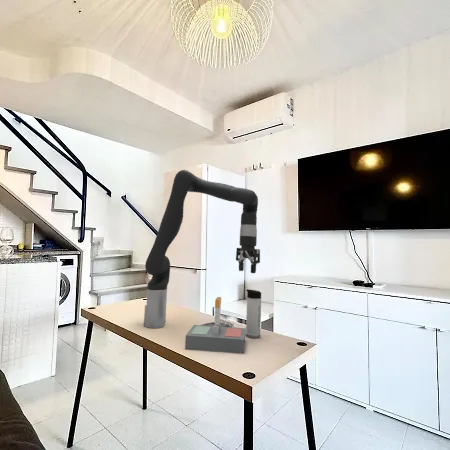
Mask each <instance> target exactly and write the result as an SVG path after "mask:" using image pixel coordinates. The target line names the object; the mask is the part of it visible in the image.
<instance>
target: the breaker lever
mask: <svg viewBox="0 0 450 450" xmlns="http://www.w3.org/2000/svg"><path fill="white" fill-rule="evenodd" d="M221 308H222V297H221V296H217V297H216V298H215V301H214V310H215V311H214V322H215V326H220V319H221Z"/></svg>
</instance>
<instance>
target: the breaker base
mask: <svg viewBox="0 0 450 450" xmlns="http://www.w3.org/2000/svg"><path fill="white" fill-rule="evenodd" d="M221 322H222V321H220V326H205V325H202V324H193V326H192V327H190V329H189V330H188V331H187V333H186V335H185V341H184V342H185V343H184V344H185V345H184V349H185V350H194V351H195V350H196V351H207V352H217V353H219V352H220V353H229V354H230V353H231V354H233V353H234V354H244V353H245V347H246V346H245V345H246V327H235V326H234V327H221Z"/></svg>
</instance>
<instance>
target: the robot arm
mask: <svg viewBox="0 0 450 450" xmlns="http://www.w3.org/2000/svg"><path fill="white" fill-rule="evenodd" d="M188 192H191V193H199V194H204V195H209V196H211V197H214V198H217V199H220V200H223V201H228V202H232V203H233V202H234V203H238V204H240V205H242V213H241V215H240V216H241V217H240V227H239V246H240V247H237V248H236V252H235V261H236V262H237V263H238V271H239V272H243V271H244V268H245V263H244V262H245V260H247V259H248V260H249V261H250V273H251V274H256V273H257V272H256V271H257V264H260V263H261V249H259V248H255V247H256V246H257V242H258V241H257V239H258V238H257V235H258V229H257V228H258V227H257V222H258V221H257V220H258V218H257V213H258V205H259V198H258V195H257V193H256V192H254V190H251V189H248V188H245V187H244V188H243V187H237V186H233V185H230V184H225V183H222V182H216V181H215V182H214V181H210V180H206V179H202V178H200V177H198V176H196V175H195V174H194V173H192V172H190V171H189V170H186V169H181V170H179V171H177V173H176V174H175V176H174V178H173V184H172V186H171V192H170V196H169V198H168V200H167V201H168V202H167V203H166V208H165V210H164V213H163V215H162V218H161V221H160V225H159V228H158V231H157V234H156V236H155V239H154V243H153V245H152V248H151V249H150V251H149V254H148V255H147V258H146V259H145V260H146V261H145V265H144V266H145V271H146V272H147V274H149V275H150V276H151V279H150V280H149V281H148V283H147V289H146V290H147V291H146V304H145V305H144V313H143V314H144V316H143V318H144V319H143V327H146V328H149V329H160V328H164V327H165V326H166V321H167V320H166V319H167V317H166V316H167V300H168V299H167V296H168V285H169V282H170V277H171V276H170V275H171V261H170V259H169V257H168V256H167V255H166V254H167V251H168V249H169V247H170V245H171V244H172V243H173V242H174V240H175V238H176V237H177V236H178V234H179V231H180V229H181V227H182V224H183V219H184V207H185V205H184V203H185V200H186V197H187V194H188Z"/></svg>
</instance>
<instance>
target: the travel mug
mask: <svg viewBox="0 0 450 450" xmlns="http://www.w3.org/2000/svg"><path fill="white" fill-rule="evenodd" d="M245 290H246V293H247V294H246V295H247V296H246V322H245V324H246V325H245V326H246V327H245V328H246V332H245V337H247V338H250V339H259V338H261V328H262V327H261V325H262V323H261V321H262V319H261V318H262V292H261V291H259V290H254V289H247V288H246V289H245Z"/></svg>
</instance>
